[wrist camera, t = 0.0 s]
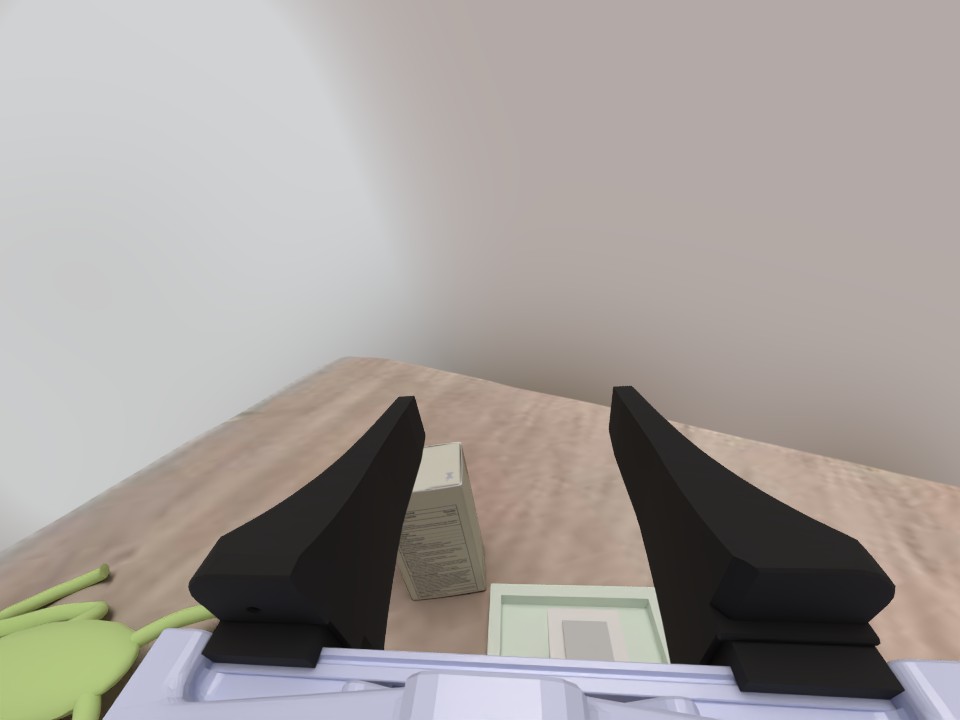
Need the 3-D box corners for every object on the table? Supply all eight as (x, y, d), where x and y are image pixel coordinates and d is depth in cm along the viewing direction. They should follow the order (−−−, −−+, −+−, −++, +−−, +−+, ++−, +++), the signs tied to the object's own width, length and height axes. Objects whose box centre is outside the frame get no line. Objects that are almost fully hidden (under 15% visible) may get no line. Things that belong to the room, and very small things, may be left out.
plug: (627, 747, 20) (639, 698, 17) (554, 741, 20) (553, 693, 17) (610, 659, 23) (618, 606, 20) (548, 656, 24) (546, 604, 21)
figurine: (-23, 1227, 12) (-182, 1286, 10) (-304, 892, 20) (-440, 873, 17) (316, 630, 28) (290, 589, 25) (89, 566, 35) (50, 529, 32)
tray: (743, 884, 16) (753, 877, 15) (481, 853, 18) (476, 845, 17) (653, 601, 27) (656, 587, 26) (493, 596, 28) (491, 583, 27)
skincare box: (483, 542, 32) (466, 438, 26) (487, 592, 28) (467, 484, 23) (413, 551, 32) (380, 449, 27) (407, 602, 28) (367, 496, 23)
